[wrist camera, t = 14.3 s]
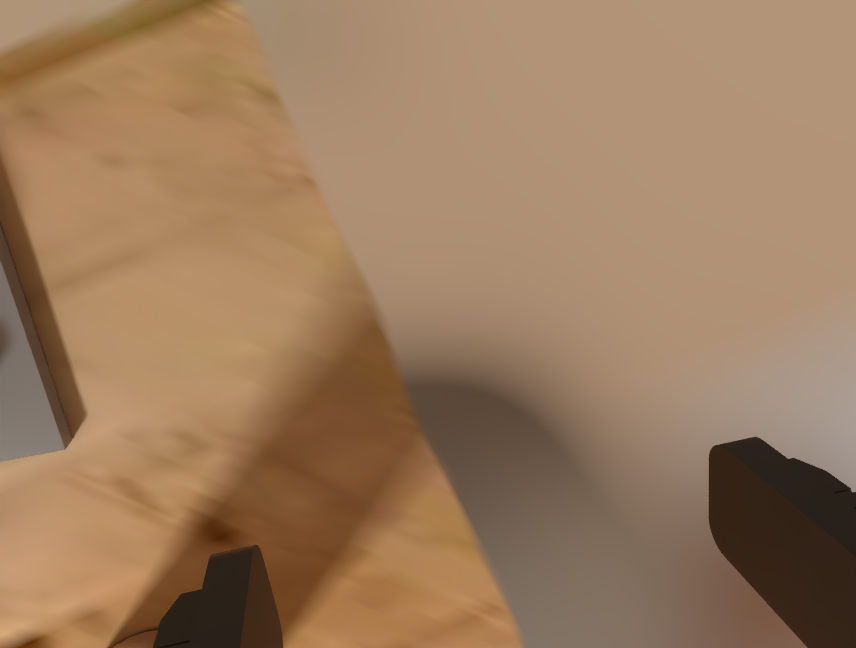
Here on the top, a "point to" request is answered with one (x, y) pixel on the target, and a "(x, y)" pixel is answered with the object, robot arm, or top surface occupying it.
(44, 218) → the top surface
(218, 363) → the top surface
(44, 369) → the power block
